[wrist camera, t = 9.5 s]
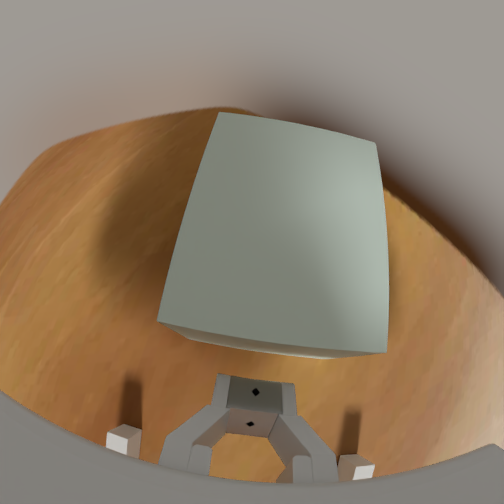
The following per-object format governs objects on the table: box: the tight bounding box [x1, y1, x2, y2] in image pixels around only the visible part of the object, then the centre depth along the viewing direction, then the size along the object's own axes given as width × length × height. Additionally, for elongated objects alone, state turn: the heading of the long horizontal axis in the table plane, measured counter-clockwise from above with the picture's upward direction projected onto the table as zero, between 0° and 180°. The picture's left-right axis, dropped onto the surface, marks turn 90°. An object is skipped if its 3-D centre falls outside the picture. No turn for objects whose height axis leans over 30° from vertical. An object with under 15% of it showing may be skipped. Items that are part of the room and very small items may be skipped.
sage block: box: [157, 112, 389, 359], centre depth 14 cm, size 8×10×8 cm
